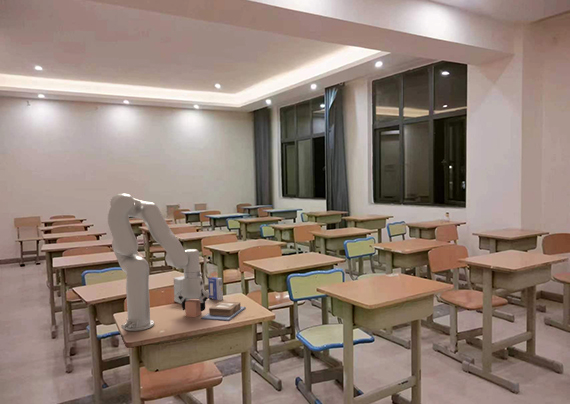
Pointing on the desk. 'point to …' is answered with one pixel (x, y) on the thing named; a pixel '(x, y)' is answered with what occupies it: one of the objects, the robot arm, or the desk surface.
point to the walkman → (215, 288)
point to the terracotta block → (192, 308)
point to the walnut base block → (224, 308)
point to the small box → (178, 288)
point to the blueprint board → (222, 316)
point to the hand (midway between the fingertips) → (193, 309)
